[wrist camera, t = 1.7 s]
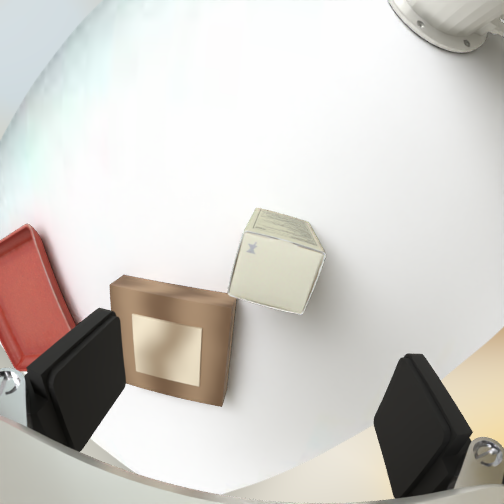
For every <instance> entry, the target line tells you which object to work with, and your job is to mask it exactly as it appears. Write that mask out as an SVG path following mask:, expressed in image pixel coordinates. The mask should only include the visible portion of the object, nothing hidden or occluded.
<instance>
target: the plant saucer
mask: <svg viewBox="0 0 504 504" xmlns="http://www.w3.org/2000/svg"><path fill="white" fill-rule="evenodd" d="M75 326H76V325H75V322H74V320H73V318H72V316H71V314H70V312H69V309H68V307H67V305H66V303H65V300H64V298H63V295H62V293H61V291H60V288H59V286H58V283H57V281H56V278H55V276H54V273H53V270H52V268H51V265H50V262H49V259H48V257H47V254H46V251H45V248H44V245H43V242H42V240H41V238H40V236H39V235H38V233H37V232H36V231H35V229H34V228H33V227H32V226H31V225H30V224H25V225H23V226H22V227H20V228H19V229H17V230H15V231H14V232H12V233H11V234H9V235H8V236H6V237H5V238H3V239H1V240H0V341H1V343H2V345H3V347H4V349H5V351H6V353H7V355H8V356H9V359H10V360H11V362H12V364H13V366H14V368H16V370H18V371H27V369H26V367H27V366H29V365H30V364H31V363H32V362H33V361H34V360H36V359H37V358H38V357H39V356H40V355H41V354H43V353H44V352H45V351H46V350H47V349H49V348H50V347H51V346H52V345H53V344H55V343H56V342H57V341H58V340H59V339H61V338H62V337H63V336H64V335H66V334H67V333H68V332H69V331H70V330H72V329H73V328H74V327H75Z"/></svg>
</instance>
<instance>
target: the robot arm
mask: <svg viewBox="0 0 504 504" xmlns="http://www.w3.org/2000/svg"><path fill="white" fill-rule="evenodd" d="M388 1H389V3H390V5H391V6H392V8H393V9H394V11H395V12H396V13H397V15H398V16H399V17H400V18H401V19H402V21H403V22H404V23H406V24H407V25H408V26H409V27H410V28H411V29H412V30H413V31H414V32H416V33H417V34H418V35H419V36H421V37H422V38H424V39H425V40H427V41H428V42H430V43H432V44H434V45H436V46H438V47H440V48H442V49H445V50H448V51H451V52H458V53H464V52H470V51H473V50H475V49H477V48H478V47H480V46H481V45H482V44H483V43H484V42H485V40H486V37H487V33H488V32H490V33H492V34H494V35H495V34H499V35H501V36H502V37H503V38H504V23H503V22H501V20H500V19H502V20H504V0H388ZM26 369H27V372H28V373H27V374H26V375H25V376H23V374H22V373H21V372H20V371H18V370H16V369H13V368H1V369H0V504H316V503H288V502H274V501H263V500H253V499H245V498H238V497H231V496H225V495H219V494H214V493H208V492H203V491H199V490H194V489H189V488H185V487H181V486H177V485H173V484H169V483H165V482H162V481H158V480H155V479H151V478H148V477H145V476H141V475H138V474H135V473H132V472H129V471H126V470H123V469H121V468H118V467H115V466H112V465H110V464H107V463H105V462H102V461H99V460H97V459H94V458H92V457H90V456H88V455H85V454H83V453H80V451H81V450H82V449H83V448H84V446H85V444H86V443H87V442H88V440H89V439H90V437H91V436H92V434H93V433H94V431H95V430H96V428H97V427H98V426H99V424H100V423H101V421H102V420H103V418H104V417H105V415H106V414H107V412H108V411H109V410H110V408H111V407H112V405H113V404H114V402H115V401H116V399H117V398H118V397H119V395H120V394H121V392H122V391H123V389H124V388H125V384H126V375H125V367H124V357H123V347H122V335H121V322H120V318H119V317H117V316H116V313H115V312H114V311H110V310H106V309H102V308H98V309H97V310H95V311H94V312H93V313H92V314H90V315H89V316H88V317H87V318H85V319H84V320H83V321H82V322H80V323H79V324H78V325H77V326H75V327H74V328H73V329H72V330H70V331H69V332H68V333H67V334H66V335H64V336H63V337H62V338H61V339H59V340H58V341H57V342H56V343H55V344H53V345H52V346H51V347H50V348H49V349H47V350H46V351H45V352H44V353H43V354H41V355H40V356H39V357H38V358H37V359H36V360H34V361H33V362H32V363H31V364H30V365H29V366H27V367H26ZM374 427H375V431H376V434H377V437H378V441H379V444H380V448H381V451H382V455H383V458H384V462H385V465H386V469H387V473H388V477H389V480H390V484H391V488H392V492H393V495H394V497H395V498H396V499H390V500H382V501H381V500H380V501H370V502H356V503H325V504H504V448H503V447H502V446H501V445H500V444H499V443H498V442H497V441H495V440H493V439H491V438H487V437H479V438H476V439H474V440H473V441H472V442H471V440H470V438H469V437H470V436H471V434H472V433H473V432H472V430H471V429H470V427H469V425H468V423H467V422H466V420H465V419H464V417H463V415H462V414H461V412H460V410H459V409H458V407H457V406H456V404H455V402H454V401H453V399H452V398H451V396H450V395H449V393H448V391H447V390H446V388H445V387H444V385H443V384H442V382H441V380H440V379H439V377H438V376H437V374H436V373H435V371H434V370H433V368H432V367H431V365H430V364H429V363H428V361H427V360H426V358H425V357H424V355H423V354H406V355H405V356H404V358H400V360H399V361H398V364H397V366H396V369H395V371H394V374H393V376H392V379H391V381H390V384H389V386H388V388H387V390H386V393H385V395H384V397H383V400H382V402H381V404H380V406H379V408H378V410H377V412H376V415H375V417H374ZM317 504H319V503H317ZM320 504H322V503H320ZM323 504H324V503H323Z"/></svg>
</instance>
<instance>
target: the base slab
mask: <svg viewBox="0 0 504 504" xmlns="http://www.w3.org/2000/svg"><path fill="white" fill-rule="evenodd" d="M236 299H237V298H234V297H231V296H229V295H228V293H222V292H216V291H210V290H204V289H198V288H192V287H186V286H180V285H175V284H169V283H164V282H158V281H153V280H148V279H142V278H137V277H132V276H127V275H123V276H121V277H120V278H119V279H117V280H116V281H114V282H113V283H111V284H110V301H111V311H114V312H115V313H116V316H117V317H119V318H120V322H121V335H122V347H123V357H124V367H125V375H126V383H127V384H130V385H133V386H137V387H140V388H143V389H147V390H151V391H154V392H158V393H162V394H166V395H170V396H174V397H178V398H182V399H187V400H191V401H196V402H200V403H205V404H210V405H215V406H220V407H222V405H223V401H224V398H225V394H226V390H227V382H228V373H229V363H230V354H231V345H232V335H233V326H234V317H235V308H236Z"/></svg>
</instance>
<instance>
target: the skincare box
mask: <svg viewBox="0 0 504 504" xmlns="http://www.w3.org/2000/svg"><path fill="white" fill-rule="evenodd" d="M325 258H326V253H325V251H324V249H323V247H322V246H321V244H320V242H319V240H318V238H317V236H316V235H315V233H314V231H313V229H312V227H311V225H310V224H309V222H307V221H304V220H300V219H297V218H294V217H291V216H287V215H284V214H280V213H277V212H273V211H269V210H265V209H261V208H256V209H255V211H254V213H253V215H252V216H251V218H250V220H249V222H248V224H247V226H246V228H245V230H244V232H243V234H242V237H241V241H240V244H239V247H238V251H237V254H236V258H235V261H234V265H233V269H232V273H231V277H230V282H229V287H228V295H229V296H231V297H234V298H237V299H241V300H244V301H247V302H250V303H254V304H257V305H261V306H265V307H269V308H273V309H276V310H280V311H285V312H289V313H294V314H299V315H302V314H303V313H304V311H305V309H306V306H307V304H308V302H309V299H310V297H311V295H312V292H313V290H314V288H315V285H316V282H317V280H318V278H319V275H320V272H321V269H322V267H323V264H324V261H325Z"/></svg>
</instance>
